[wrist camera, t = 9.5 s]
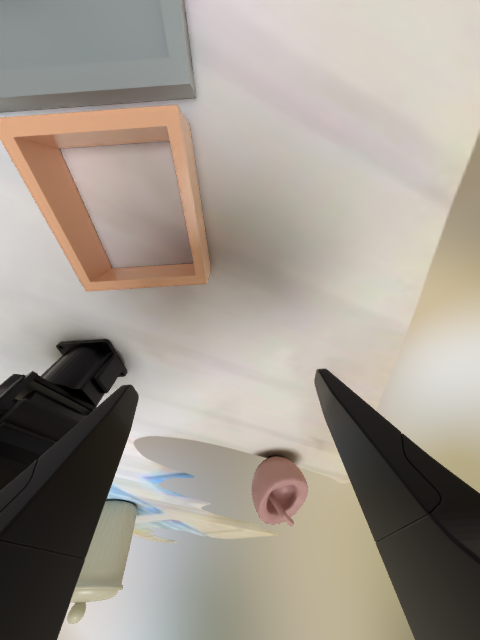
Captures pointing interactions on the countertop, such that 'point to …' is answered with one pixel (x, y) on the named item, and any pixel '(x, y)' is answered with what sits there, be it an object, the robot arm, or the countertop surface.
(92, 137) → the holder
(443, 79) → the countertop surface
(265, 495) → the mortar and pestle
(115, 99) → the tray
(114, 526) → the canister
